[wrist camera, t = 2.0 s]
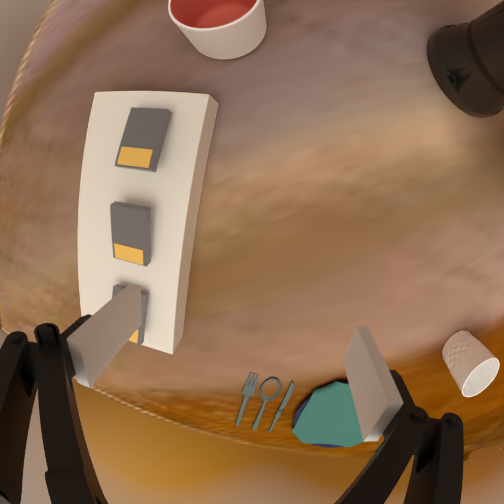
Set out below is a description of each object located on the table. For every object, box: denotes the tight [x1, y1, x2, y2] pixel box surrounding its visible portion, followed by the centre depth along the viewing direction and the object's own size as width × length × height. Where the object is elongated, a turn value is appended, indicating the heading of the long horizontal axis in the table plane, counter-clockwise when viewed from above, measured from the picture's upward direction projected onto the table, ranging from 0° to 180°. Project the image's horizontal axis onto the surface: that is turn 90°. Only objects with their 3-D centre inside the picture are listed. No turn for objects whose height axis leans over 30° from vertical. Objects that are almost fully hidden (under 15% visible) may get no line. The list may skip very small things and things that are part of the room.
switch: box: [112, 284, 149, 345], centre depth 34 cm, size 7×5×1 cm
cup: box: [168, 0, 267, 60], centre depth 24 cm, size 10×10×10 cm
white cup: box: [442, 330, 499, 397], centre depth 34 cm, size 8×8×10 cm
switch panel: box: [78, 91, 219, 354], centre depth 35 cm, size 34×16×6 cm, turn 169°
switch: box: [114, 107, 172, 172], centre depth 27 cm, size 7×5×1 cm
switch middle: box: [110, 201, 151, 267], centre depth 31 cm, size 7×5×1 cm
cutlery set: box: [235, 372, 365, 448], centre depth 44 cm, size 20×30×2 cm, turn 77°
